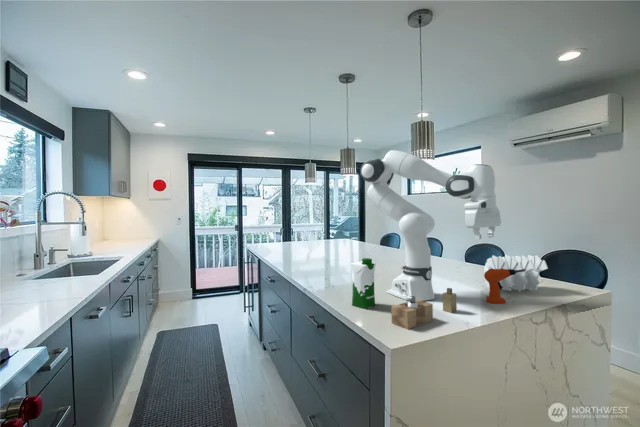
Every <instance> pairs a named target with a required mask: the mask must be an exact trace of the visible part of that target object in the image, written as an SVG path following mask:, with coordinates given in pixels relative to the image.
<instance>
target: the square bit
mask: <svg viewBox="0 0 640 427" xmlns="http://www.w3.org/2000/svg"><path fill="white" fill-rule="evenodd" d="M457 309H458V308H457V293H454V292H453V288H451V287H447V288H446V292H443V293H442V311H443V312H446V313H449V314H453V313H456V312H457Z"/></svg>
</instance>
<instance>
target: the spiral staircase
mask: <svg viewBox="0 0 640 427" xmlns="http://www.w3.org/2000/svg"><path fill="white" fill-rule="evenodd" d="M491 268H492V269H501V268H502V269H507V270H508V269H513V270H522V269H525V271H523V272H518V273H516V274H515V275H511V276H509V277H507V278H505V279H503V280H501V281H499V282H500V284H501V286H502V287H503V288H502V289H501V290H503V291H504V292H507V291H512V289H513V290H516V291H517V292H520V293H521V291H522V290H523V291H524V290H526V289H527V290H529V291H530V292H532V291H533V290H538V286H539V285H540V284H541V282H540V281H539V275H540V272H543V271H546V270H548V269H549V267H548V265H547V262H546V260H542V259H541V258H540V257H539V256H538V255H537V254H535V256H534V255H530V254H527V256H525V255H524V254H522V255H520V256H519V255H515V256H514V255H512V256H509V255H508V254H504V256H501V255H499V256H496V255H494V254H493V255H492V256H491V257H489V258H487V259H486V261H485V265H484V268H483V269H484V273H483V275H484V274H485V272H486V271H488V270H489V269H491ZM483 277H484V276H483ZM483 279H484V280H483V281H485V282H484V283H485V285H486V286H487V288H488V289H490V287H489V282H488V281H487V280H486V279H485V277H484V278H483Z"/></svg>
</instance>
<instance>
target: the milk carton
mask: <svg viewBox="0 0 640 427" xmlns="http://www.w3.org/2000/svg"><path fill="white" fill-rule="evenodd" d="M350 267H351V274H352V277H351V278H352V280H351V281H352V296H351V297H352V299H351V300H352V301H351V306H353V307H356V308H359V309H363V310H366V309H369V308H371V307H375V306H376V300H375V299H376V298H375V296H376V295H375V271H376V269H375V268H376V262H373V259H372V258H370V257H365V258H362V259H361V261H356V262H352V263H350Z"/></svg>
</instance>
